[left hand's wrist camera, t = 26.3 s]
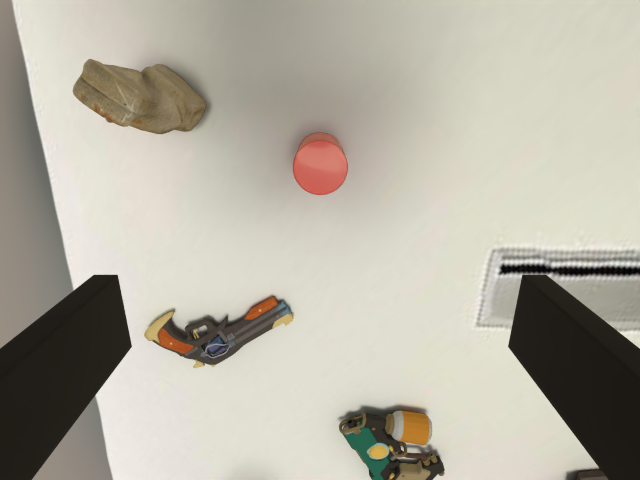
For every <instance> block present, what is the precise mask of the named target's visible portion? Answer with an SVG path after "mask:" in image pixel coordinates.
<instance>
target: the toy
mask: <svg viewBox="0 0 640 480" xmlns="http://www.w3.org/2000/svg"><path fill="white" fill-rule="evenodd" d="M577 480H608V479H607V477H606V476H605V475H604V473H603V472H602V471H601V470H594V471H583V472H579V473H578V476H577Z"/></svg>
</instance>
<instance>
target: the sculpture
mask: <svg viewBox="0 0 640 480" xmlns="http://www.w3.org/2000/svg"><path fill="white" fill-rule="evenodd" d="M73 94H74V95H75V96H76V98H77V99H78V100H80V101H81V102H82V103H83V104H85V105H86V106H87V107H89V108H90V109H91V110H93V111H95V112H96V113H98V114H99V115H101V116H102V117H104V118H106V120H107V122H110V123H112V122H113V123H115V124H117V125H120V126H123V127H127V126H129V125H130V126H132V127H134V128H137V129H139V130H143V131H148V132H152V133H156V134H164V133H167V132H170V131H172V130H174V129H175V130H179V131H191V130H192V129H193V128H194V127H195V126H196V124H197V123H198V122H199V120H200V119H201V117H202V115H203V113H204V111H205V106H206V102H205V101H204V100H203V99H202V98H201V97H199V96H198V95H197V94H196V93H195V92H194V90H193V89H192V88H191V87H190V86H189V85H188V84H187V83H186V82H184V81H183V80H182V79H181V78H180V77H178V76H177V75H176V74H175V73H173V72H172V71H171V70H169V69H168V68H167V67H165V66H164V65H161V64H157V65H155V66H153V67H147V68H145V69H144V70H143V71H142V72H141V73H140V72H139V71H137V70H133V69H128V68H123V67H119V66H114V65H104V64H102V63H100V62H98V61H95V60H92V59H89V60H87V61H86V63H85V64H84V67H83V72H82V74H81V76H80V77H79V79H78V80H77V81H76V83H75V85H74V87H73Z"/></svg>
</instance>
